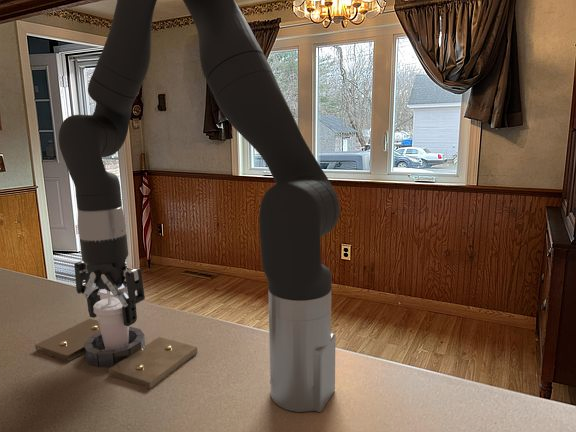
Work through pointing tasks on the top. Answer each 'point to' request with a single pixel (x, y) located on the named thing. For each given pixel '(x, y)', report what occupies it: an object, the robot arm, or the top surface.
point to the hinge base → (120, 353)
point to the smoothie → (111, 322)
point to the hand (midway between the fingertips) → (112, 319)
